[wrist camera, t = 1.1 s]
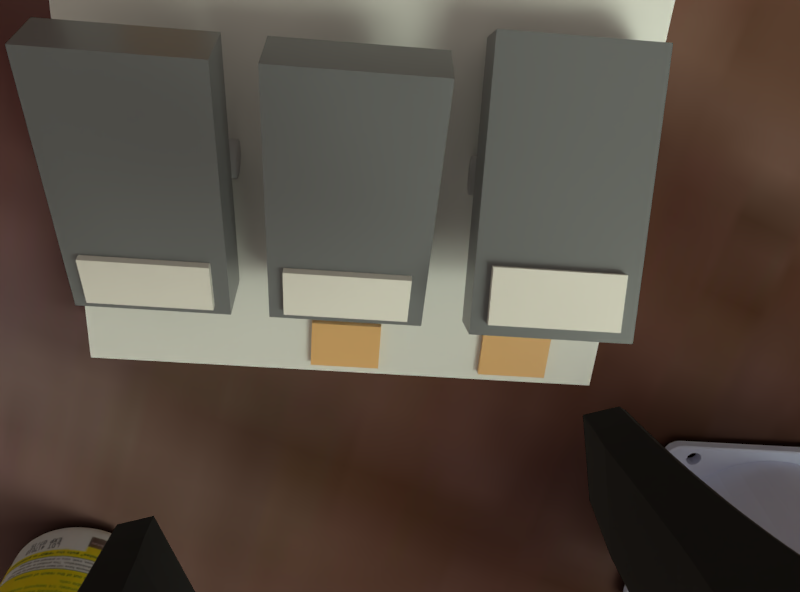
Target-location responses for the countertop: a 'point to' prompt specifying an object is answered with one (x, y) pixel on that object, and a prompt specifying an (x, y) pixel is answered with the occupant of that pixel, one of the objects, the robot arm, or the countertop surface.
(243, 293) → the switch unit
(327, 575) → the countertop surface
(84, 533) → the supplement bottle
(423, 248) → the rocker middle
